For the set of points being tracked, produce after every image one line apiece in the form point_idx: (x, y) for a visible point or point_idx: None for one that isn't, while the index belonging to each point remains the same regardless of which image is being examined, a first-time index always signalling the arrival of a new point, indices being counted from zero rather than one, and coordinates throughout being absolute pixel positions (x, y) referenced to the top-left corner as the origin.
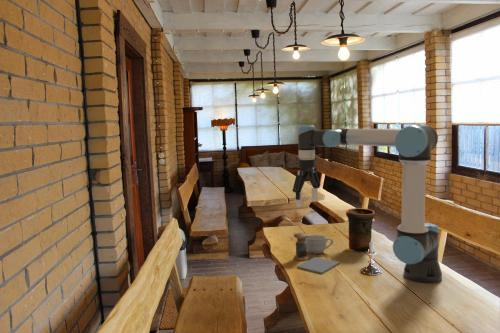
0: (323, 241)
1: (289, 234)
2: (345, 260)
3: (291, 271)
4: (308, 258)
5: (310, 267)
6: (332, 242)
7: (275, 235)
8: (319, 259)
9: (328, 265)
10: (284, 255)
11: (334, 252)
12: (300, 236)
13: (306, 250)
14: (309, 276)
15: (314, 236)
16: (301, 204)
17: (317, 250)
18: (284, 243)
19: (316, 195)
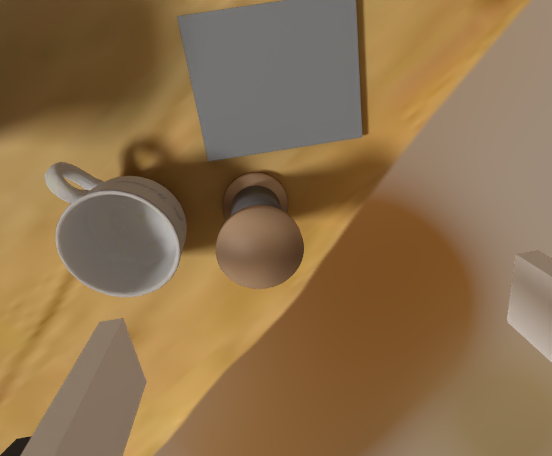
0: (115, 187)
1: None
2: (112, 27)
3: (408, 125)
4: (238, 177)
5: (337, 80)
6: (59, 162)
7: None
8: (222, 122)
9: (257, 30)
10: None
11: (69, 150)
12: (295, 226)
13: (244, 194)
14: (411, 21)
15: (90, 277)
16: (549, 269)
17: (164, 187)
18: (166, 369)
19: (84, 399)
